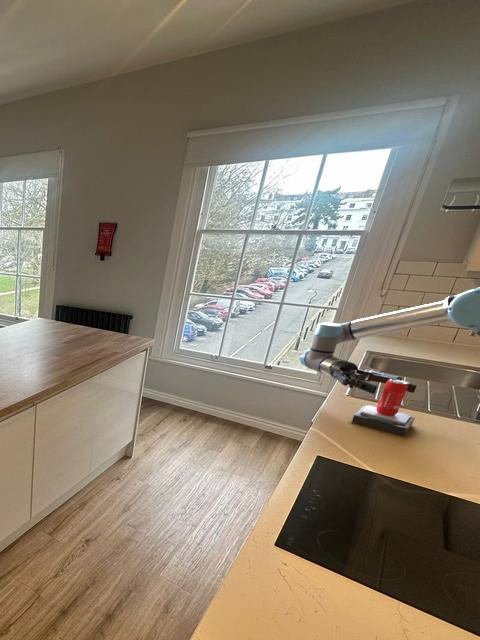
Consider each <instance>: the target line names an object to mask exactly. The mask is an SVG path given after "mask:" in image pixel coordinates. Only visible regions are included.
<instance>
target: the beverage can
mask: <svg viewBox="0 0 480 640" xmlns="http://www.w3.org/2000/svg"><path fill="white" fill-rule="evenodd" d="M408 383H409V381H406V380H403V379H402V380H398V379H389V381H387V382H386V383H385V385H384V387H383V390H382V392H381V396H380V398H379V400H378V403H377V405H376V407H377V408H376V409H377V413H379V414H382V415H385V416H395V414H397V413H399V410H400V408H401V406H402V403H403V401H404V398H405V396H406V393H407V392H408V391H407V388H408V386H409V385H408Z"/></svg>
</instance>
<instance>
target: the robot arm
mask: <svg viewBox="0 0 480 640" xmlns="http://www.w3.org/2000/svg"><path fill="white" fill-rule="evenodd" d="M447 322H448V323H449V322H452V323H454V324H456V325H458V326H460V327H462V328H466V329H467V328H468V329H469V330H470V331H472V332H473V333H474V334H476V335H477V336H479V337H480V286H479V287H475V288H472V289H468V290H465V291H464V292H462V293H459V294H455V295H451V296H450V295H449V296H448V297H446V298H445V299H444V300H441V301H436V302H432V303H429V304H423V305H419V306H415V307H410V308H405V309H401V310H397V311H392V312H388V313H383V314H379V315H374V316H369V317H366V318H365V317H364V318H360V319H356V320H353V321H348V322H342V323H333V322H321V323H318V324H317V326H316V329H315V330H314V335H313V339H312V341H311V346H310V348H309V349H307V350H305V351H303V352H302V354H301V355H300V357H299V362H300V364H301V365H302V366H304V367H306V368H308V369H309V370H312V371H315V372H318V373H320V374H323V375H325V376H327V377H328V378H333V379H335V380H337V381H338V382H339V383H340V384H341V385H342V386H344V387H347V386H348V388H349V389H354V387H355V388H357V389H360V390H361V391H364V392H367V393H369V394H371V395H375V393H376V390H377V388H378V385H375V384H372V383H369V382H376V383H381V384H386V382H387V381H389V379H398V380H403V377H401V376H399V375H398V376H395V375H391V374H387V373H383V372H379V371H375V370H371V369H367V370H364V369H359V368H358V365H357V364H355V362H351V361H348V360H345V359H344V358H343V359H342V358H339V357H336V356H334V353H335V351H336V348H337V345H338V344H341V343H344V342H349V341H354V340H360V339H364V338H365V339H366V338H369V337H373V336H375V337H376V336H379V335H385V334H386V335H387V334H391V333H396V332H402V331H406V330H412V329H418V328H422V327H428V326H434V325H439V324H444V323H447ZM408 385H409V386H408V388H407V391H406V392H409V393H411V394H414V393H415V391H416V389H417V384H414V383H412V382H408Z"/></svg>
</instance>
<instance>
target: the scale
mask: <svg viewBox="0 0 480 640" xmlns="http://www.w3.org/2000/svg"><path fill="white" fill-rule="evenodd" d="M376 408H377V406H372V405H363V406H362V407H361V408H360V409H359V410H358V411H357V412H356V413H355V414H354V415H353V417H352V420H351V422H350V423H352V424H354V425H358V426H363V427H365V428H370V429H373V430H377V431H380V432H383V433H389V434H392V435H395V436H399V437H405V435H406V434H407V433H408V432H409V430H410V429H411V427H412V426H413V424H414V421H415V420H416V419H415V417H413V416H412V415H410V414H406V413H403V412H398V413H397V414H395V416H385V415H382V414H379V413H377V409H376Z"/></svg>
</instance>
